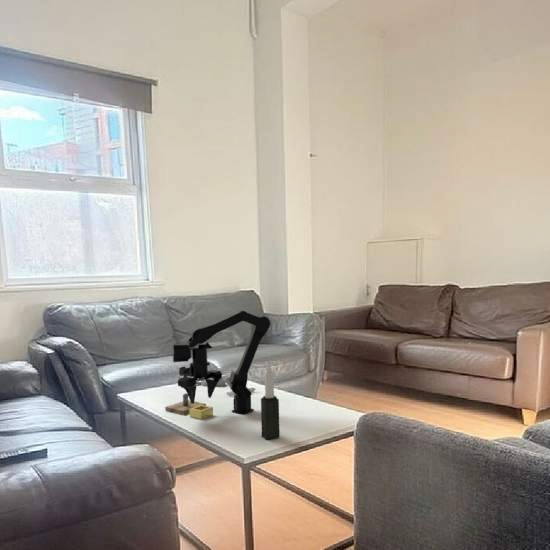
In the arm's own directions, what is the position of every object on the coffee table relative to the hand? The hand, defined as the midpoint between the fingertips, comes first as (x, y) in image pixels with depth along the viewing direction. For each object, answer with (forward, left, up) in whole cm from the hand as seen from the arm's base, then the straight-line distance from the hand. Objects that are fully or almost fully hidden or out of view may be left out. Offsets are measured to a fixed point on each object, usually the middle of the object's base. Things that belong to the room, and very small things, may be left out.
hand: (201, 400), depth 187 cm
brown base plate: (+12, -3, -6) cm, 14 cm away
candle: (-37, +4, -6) cm, 38 cm away
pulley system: (+32, -41, -7) cm, 53 cm away
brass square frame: (0, 0, -6) cm, 6 cm away
